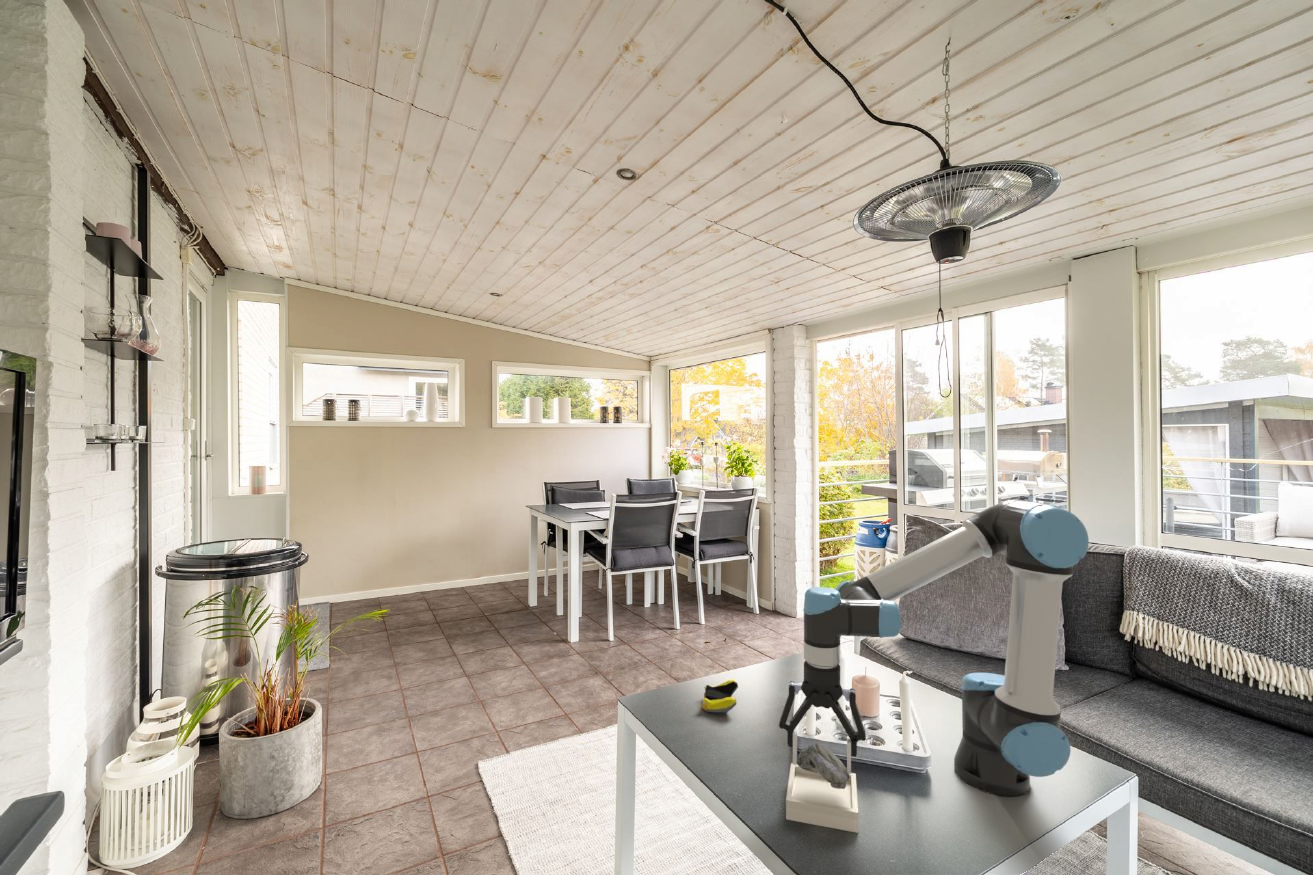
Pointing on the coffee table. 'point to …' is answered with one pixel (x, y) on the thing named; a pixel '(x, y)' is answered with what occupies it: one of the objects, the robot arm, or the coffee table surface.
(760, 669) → the coffee table surface
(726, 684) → the yellow black shoe
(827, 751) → the grey rock
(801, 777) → the small open wooden box
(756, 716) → the coffee table surface
